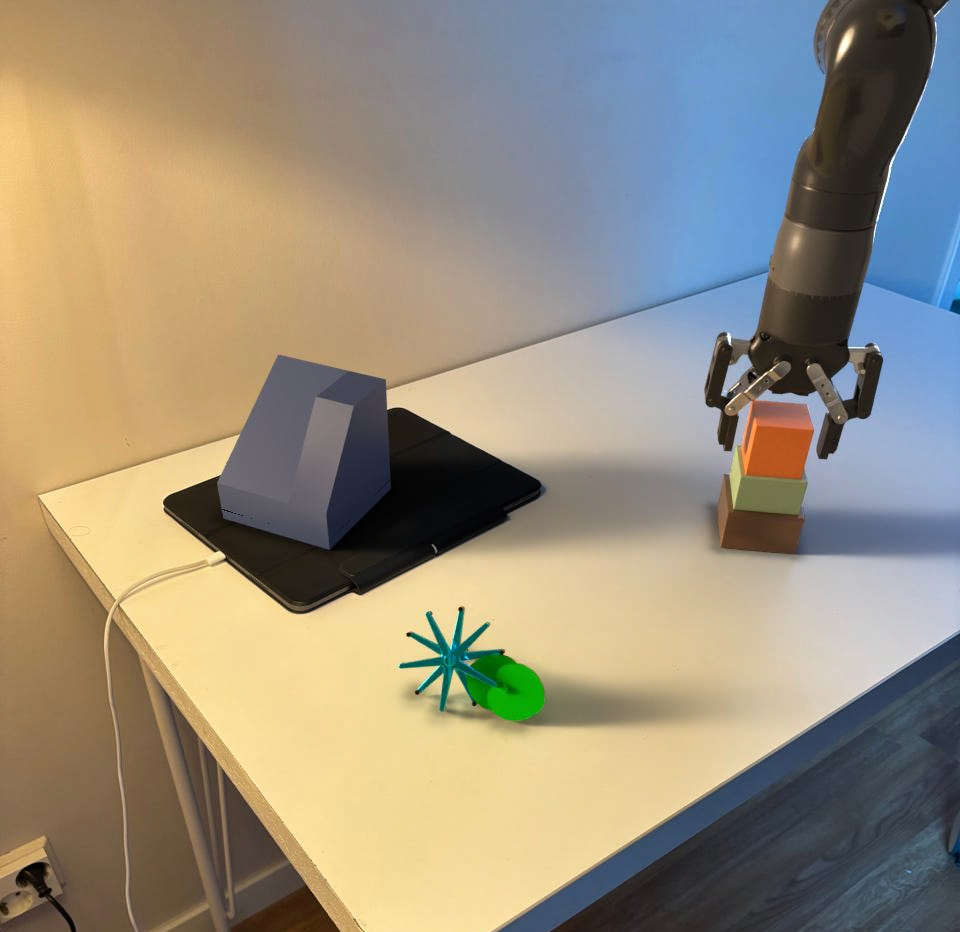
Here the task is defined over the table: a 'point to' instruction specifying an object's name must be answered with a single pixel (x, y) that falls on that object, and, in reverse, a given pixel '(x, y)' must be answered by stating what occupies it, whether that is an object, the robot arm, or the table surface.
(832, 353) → the robot arm
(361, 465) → the phone stand
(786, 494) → the green block
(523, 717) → the stick construction toy
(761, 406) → the toy cube
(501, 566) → the table surface
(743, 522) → the walnut block
